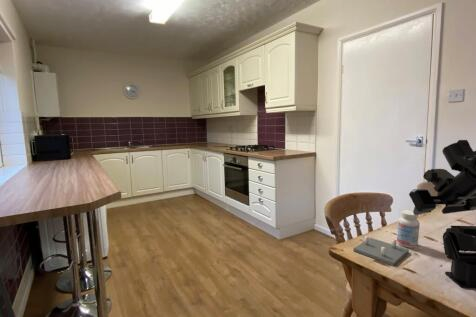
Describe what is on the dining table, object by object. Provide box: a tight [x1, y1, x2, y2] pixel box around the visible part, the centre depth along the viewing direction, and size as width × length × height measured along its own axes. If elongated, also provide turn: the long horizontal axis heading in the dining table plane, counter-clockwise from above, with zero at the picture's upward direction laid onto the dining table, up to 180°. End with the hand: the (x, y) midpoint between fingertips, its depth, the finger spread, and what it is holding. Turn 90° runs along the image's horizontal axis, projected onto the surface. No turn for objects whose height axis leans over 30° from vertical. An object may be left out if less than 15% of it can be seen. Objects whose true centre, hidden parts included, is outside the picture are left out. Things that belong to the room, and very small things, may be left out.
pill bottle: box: [396, 209, 420, 249], centre depth 91 cm, size 6×6×11 cm
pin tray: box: [352, 235, 410, 267], centre depth 87 cm, size 12×12×4 cm
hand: (428, 212), depth 83 cm, fingers open, 9 cm apart
